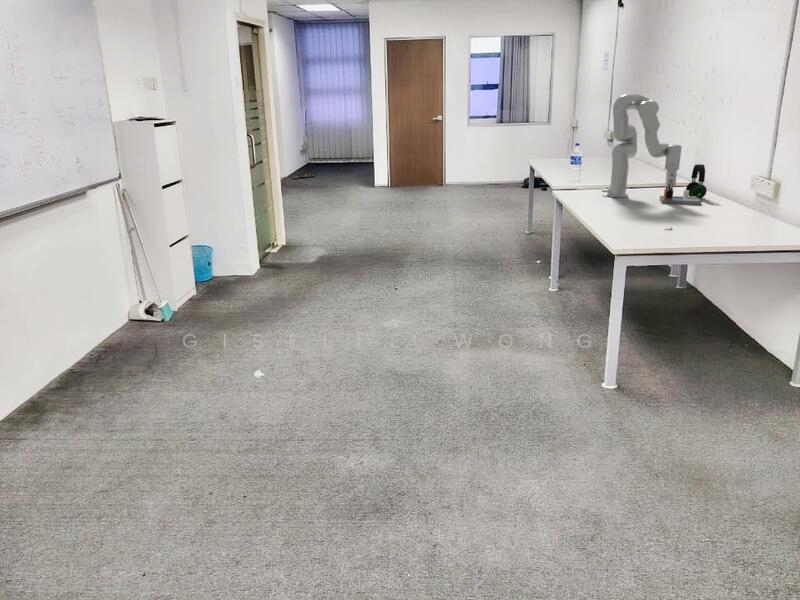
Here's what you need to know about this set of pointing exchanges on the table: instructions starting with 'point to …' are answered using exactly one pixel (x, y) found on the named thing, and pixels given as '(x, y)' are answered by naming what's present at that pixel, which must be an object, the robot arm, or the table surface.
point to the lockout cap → (665, 195)
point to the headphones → (695, 187)
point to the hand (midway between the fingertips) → (668, 196)
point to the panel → (682, 200)
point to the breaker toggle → (686, 193)
